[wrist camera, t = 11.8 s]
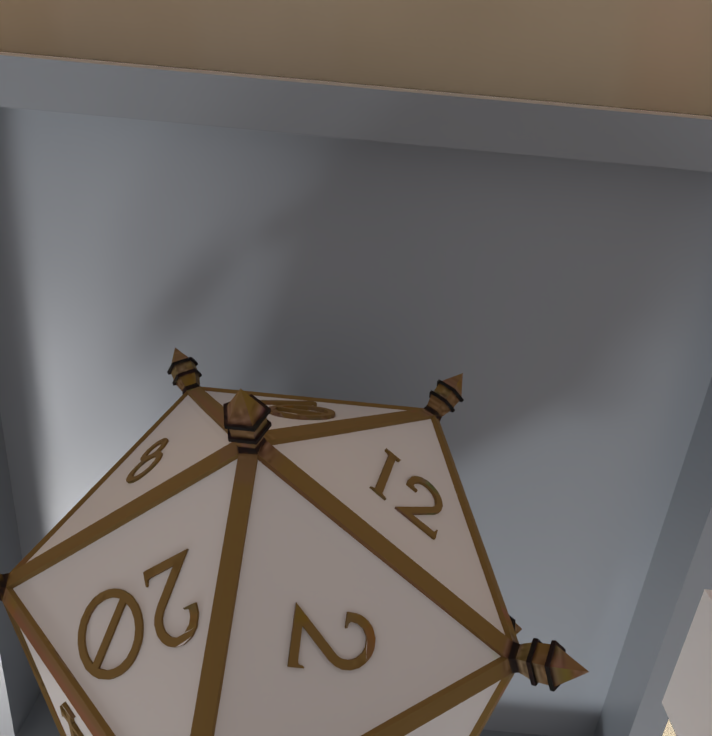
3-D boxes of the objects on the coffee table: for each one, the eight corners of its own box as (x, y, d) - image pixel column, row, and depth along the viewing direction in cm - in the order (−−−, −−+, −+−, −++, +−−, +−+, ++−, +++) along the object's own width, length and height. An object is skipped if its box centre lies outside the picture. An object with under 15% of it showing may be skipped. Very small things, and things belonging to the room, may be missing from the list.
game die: (212, 656, 17) (-76, 1226, 8) (101, 348, 16) (-453, 613, 6) (560, 607, 16) (728, 1265, 6) (484, 253, 14) (558, 416, 4)
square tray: (41, 664, 21) (-11, 755, 18) (-50, 46, 14) (-159, 40, 11) (598, 715, 21) (631, 814, 18) (792, 123, 14) (895, 136, 11)
